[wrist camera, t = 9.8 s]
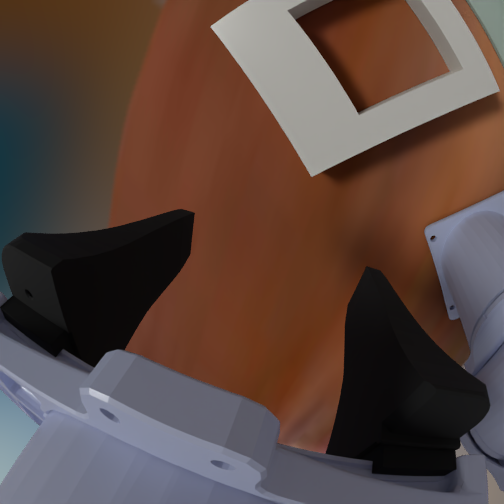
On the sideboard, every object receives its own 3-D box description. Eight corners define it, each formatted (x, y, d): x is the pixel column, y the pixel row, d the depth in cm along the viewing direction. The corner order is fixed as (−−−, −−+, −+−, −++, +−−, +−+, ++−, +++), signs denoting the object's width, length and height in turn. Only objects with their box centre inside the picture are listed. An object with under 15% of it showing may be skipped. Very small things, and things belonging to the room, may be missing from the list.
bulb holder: (484, 90, 13) (499, 90, 11) (315, 167, 20) (311, 176, 18) (392, -50, 10) (396, -65, 8) (225, 33, 17) (210, 26, 15)
